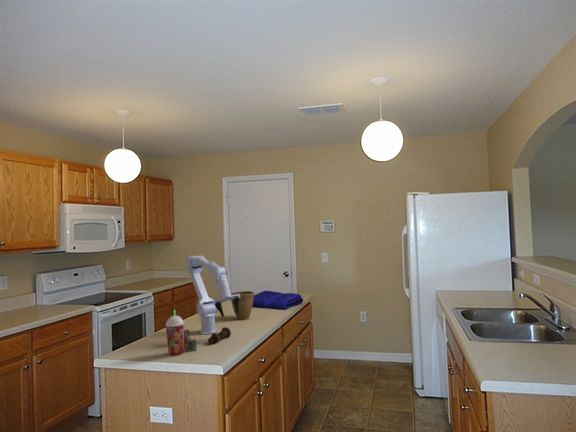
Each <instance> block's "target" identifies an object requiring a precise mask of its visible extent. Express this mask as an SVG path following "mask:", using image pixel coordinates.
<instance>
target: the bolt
mask: <svg viewBox="0 0 576 432" xmlns="http://www.w3.org/2000/svg"><path fill="white" fill-rule="evenodd" d="M231 334H232V331H231V329H230V327H227V326H226V327H225V326H224V327H222V328H221V330H220V331H219V332H217V333H211V334H210V335H211V336H210V337H209V338H208V339H207V343H208V344H210V345H212V344H219V342H220V341H221V340H222V339H224V338H225V339H227V338H230V336H231Z"/></svg>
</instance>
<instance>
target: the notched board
mask: <svg viewBox="0 0 576 432" xmlns="http://www.w3.org/2000/svg"><path fill="white" fill-rule="evenodd" d="M184 344H185V345H186V347H187V350H188V351H189V352H194V351H197V339H196V338H194V339H193V338H191V336H190V329H184Z"/></svg>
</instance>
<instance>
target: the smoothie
mask: <svg viewBox="0 0 576 432" xmlns="http://www.w3.org/2000/svg"><path fill="white" fill-rule="evenodd" d="M165 330H166V331H165V333H166V341H167V351H168V354H169V355H170V356H173V355H175V356H179V355H182V354H183V352H184V350H185V349H184V348H185V345H184V344H185V342H184V330H185V321H184V320H183V318H182V317H181V316H180V315H176V309H174V310H173V315H172V316H170V317H169V318H168V319H167V320H166V323H165Z"/></svg>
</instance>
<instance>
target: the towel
mask: <svg viewBox="0 0 576 432" xmlns="http://www.w3.org/2000/svg"><path fill="white" fill-rule="evenodd" d="M303 298H304V297H302V295H301V294H300V293H291V292H287V293H283V292H279V291H271V290H263V291H260V292H258V293H257V294H254V297H253V304H252V308H265V309H273V308H274V309H276V310H282V309H283V310H289V309H290V308H291V307H294V306H299V305H302V304H303V302H304V299H303Z"/></svg>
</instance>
